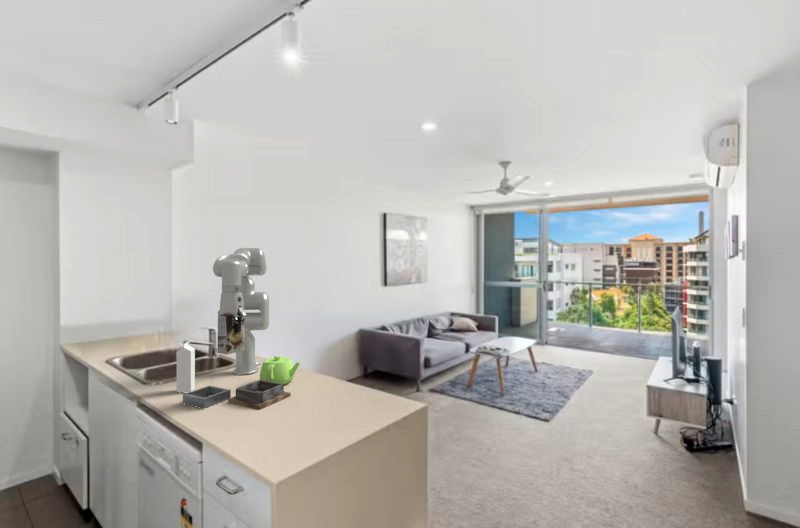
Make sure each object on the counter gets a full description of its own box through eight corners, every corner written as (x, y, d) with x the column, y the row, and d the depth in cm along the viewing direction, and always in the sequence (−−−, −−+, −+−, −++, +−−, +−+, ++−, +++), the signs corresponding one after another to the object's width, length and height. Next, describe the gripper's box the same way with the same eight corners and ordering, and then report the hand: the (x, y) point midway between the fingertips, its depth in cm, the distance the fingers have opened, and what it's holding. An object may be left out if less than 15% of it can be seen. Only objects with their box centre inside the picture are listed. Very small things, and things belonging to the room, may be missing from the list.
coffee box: (227, 354, 167) (227, 315, 167) (216, 353, 170) (216, 314, 169) (245, 350, 175) (245, 313, 175) (234, 348, 178) (234, 312, 178)
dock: (259, 390, 186) (260, 378, 186) (290, 395, 178) (290, 383, 178) (228, 402, 170) (228, 389, 170) (260, 409, 162) (260, 395, 162)
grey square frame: (209, 394, 180) (209, 385, 180) (230, 399, 174) (230, 389, 174) (182, 403, 168) (182, 394, 168) (204, 409, 162) (204, 399, 162)
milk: (176, 393, 181) (175, 344, 180) (181, 389, 187) (180, 341, 186) (191, 392, 182) (190, 344, 182) (195, 388, 188) (194, 341, 188)
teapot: (306, 377, 207) (306, 352, 206) (292, 390, 187) (292, 362, 187) (271, 376, 208) (271, 351, 208) (253, 388, 188) (253, 360, 188)
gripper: (253, 290, 171) (253, 332, 172) (224, 288, 179) (224, 328, 180) (238, 291, 165) (238, 335, 165) (209, 289, 173) (209, 331, 173)
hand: (231, 331), depth 172 cm, fingers closed on coffee box, 6 cm apart
